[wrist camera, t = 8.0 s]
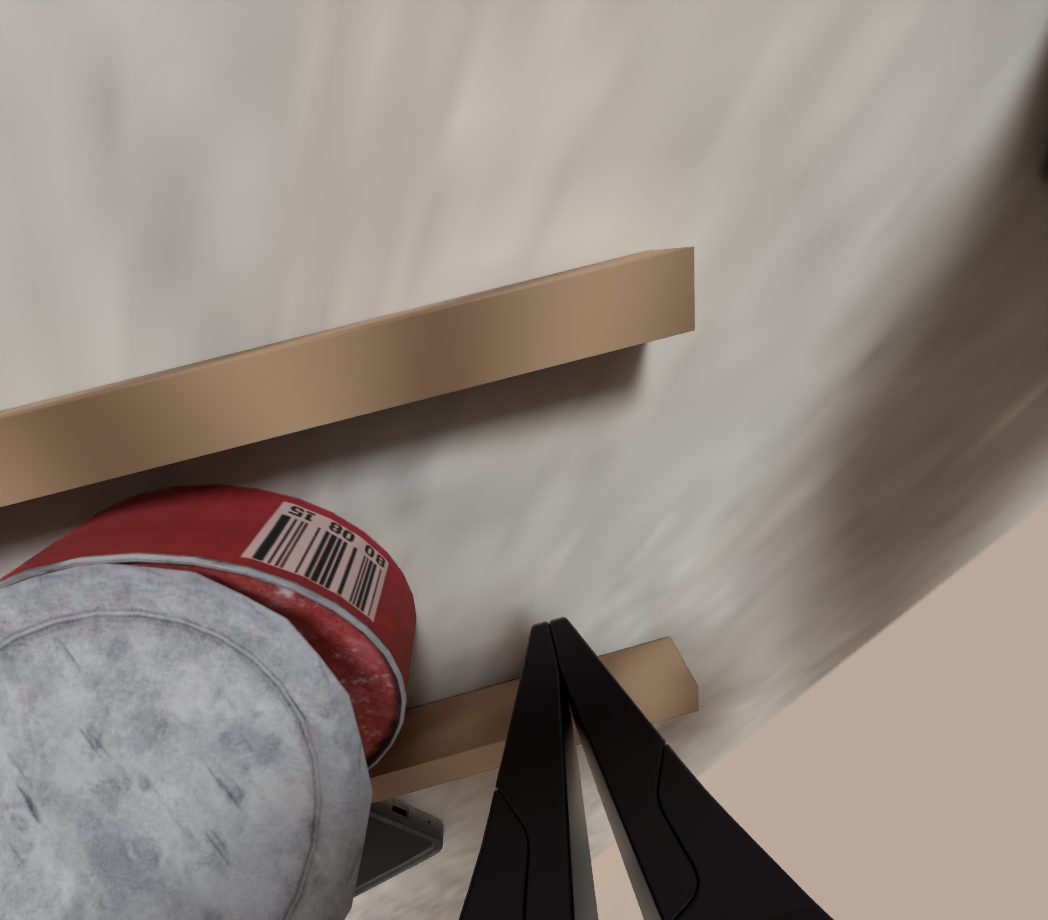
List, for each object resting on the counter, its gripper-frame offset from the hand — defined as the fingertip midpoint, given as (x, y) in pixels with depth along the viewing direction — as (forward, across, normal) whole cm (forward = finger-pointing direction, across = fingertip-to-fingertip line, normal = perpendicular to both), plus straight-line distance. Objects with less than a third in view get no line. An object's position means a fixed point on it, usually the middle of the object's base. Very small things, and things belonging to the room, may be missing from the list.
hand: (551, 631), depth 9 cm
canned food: (+4, +9, 0) cm, 10 cm away
